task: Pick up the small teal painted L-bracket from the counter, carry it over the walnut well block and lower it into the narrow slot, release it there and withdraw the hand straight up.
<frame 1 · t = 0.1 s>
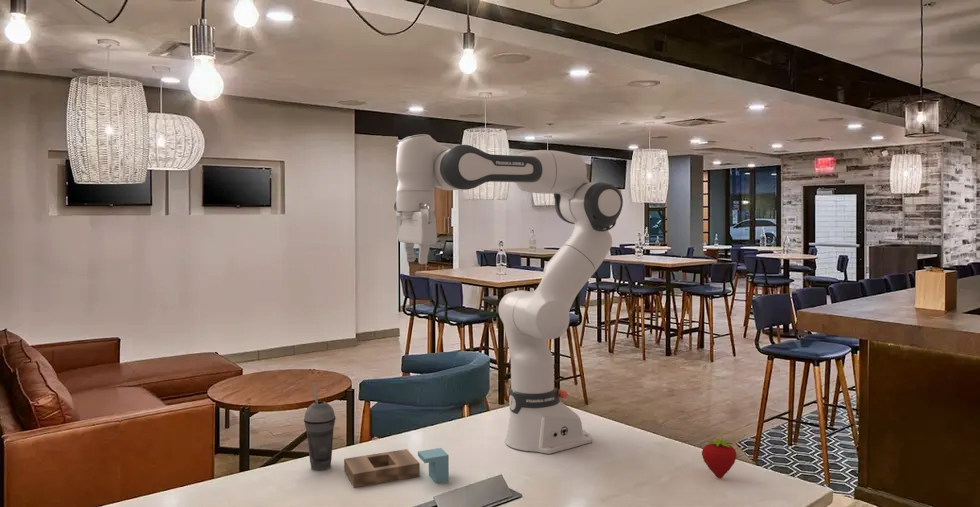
hand: (416, 262, 156), 48 cm above the table, tool pointing down, fingers open, 8 cm apart
well block: (381, 473, 151), on the table
beverage cup: (320, 467, 156), on the table
bracket: (438, 478, 148), on the table
strawberry: (718, 478, 148), on the table
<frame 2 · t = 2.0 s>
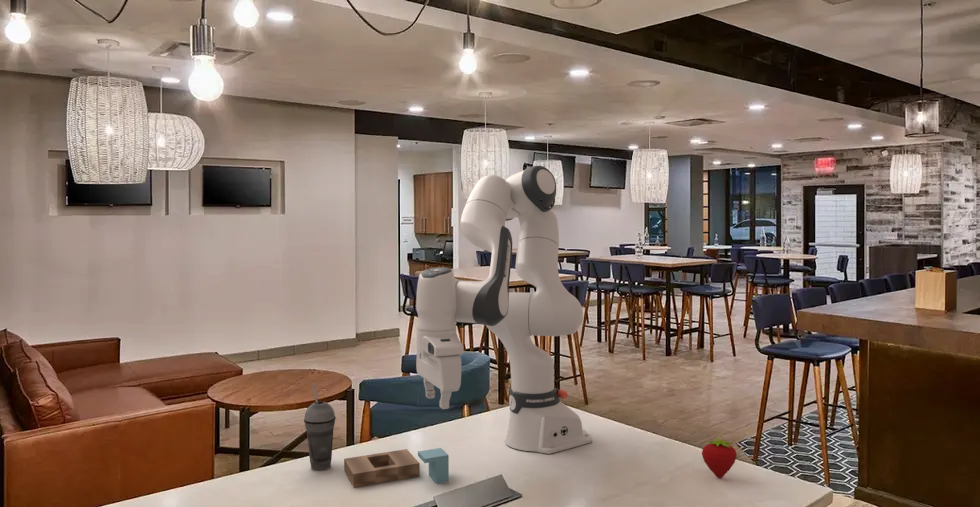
hand: (437, 402, 147), 17 cm above the table, tool pointing down, fingers open, 8 cm apart
nothing on the table moved.
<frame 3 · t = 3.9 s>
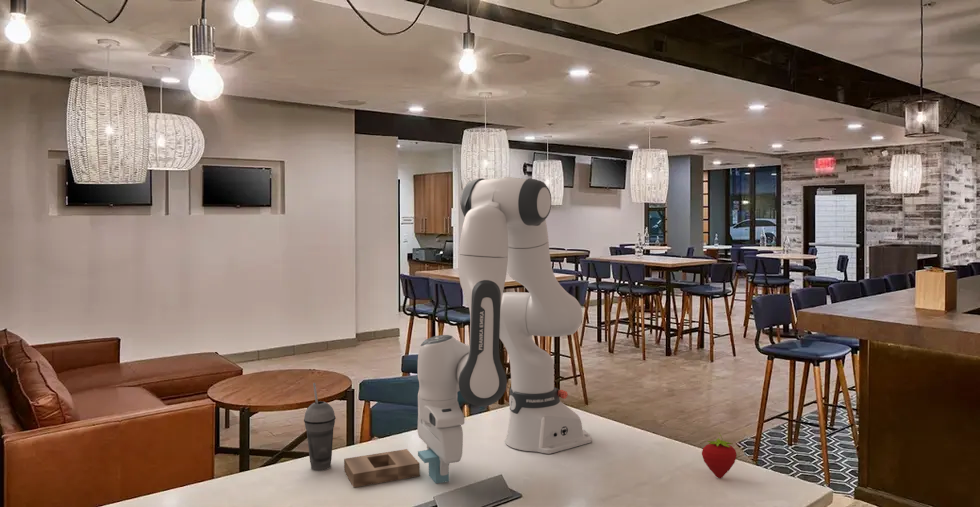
hand: (438, 469, 148), 2 cm above the table, tool pointing down, fingers closed on bracket, 5 cm apart
bracket: (438, 478, 148), on the table, touching gripper
everything else where it was.
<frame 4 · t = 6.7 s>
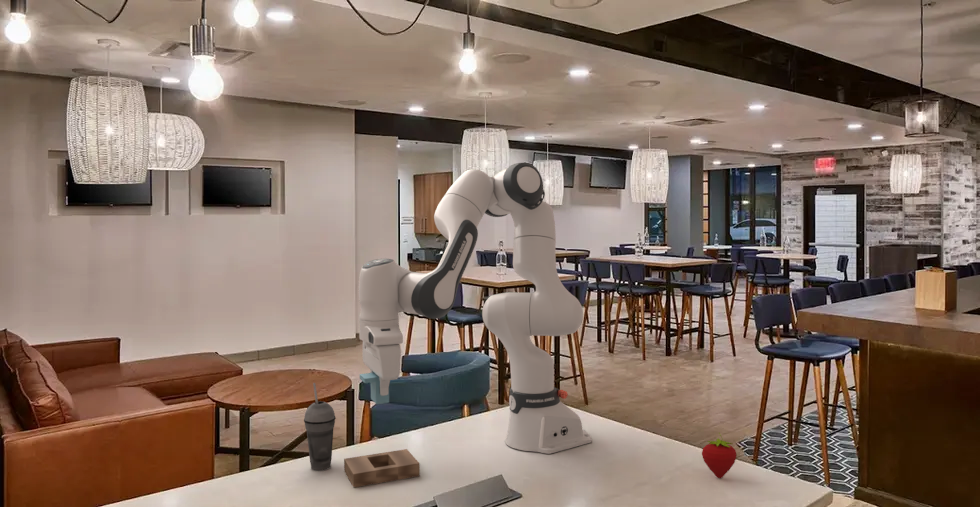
hand: (380, 391, 150), 19 cm above the table, tool pointing down, fingers closed on bracket, 5 cm apart
bracket: (380, 400, 150), point 17 cm above the table, touching gripper
everything else where it was.
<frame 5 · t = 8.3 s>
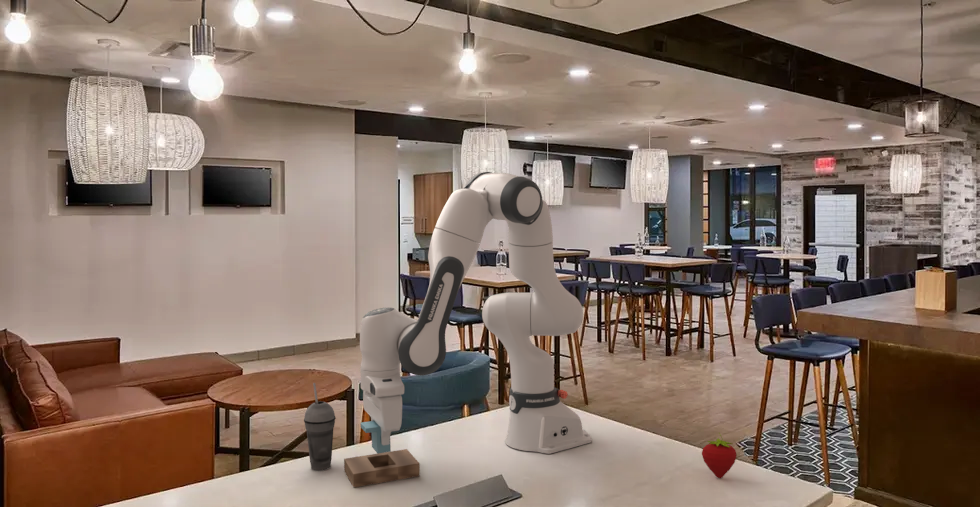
hand: (381, 439, 150), 8 cm above the table, tool pointing down, fingers closed on bracket, 5 cm apart
bracket: (381, 449, 150), point 6 cm above the table, touching gripper
everything else where it was.
when the fingers open (4 cm above the table, at t = 9.6 s): bracket drops 2 cm, resting in well block.
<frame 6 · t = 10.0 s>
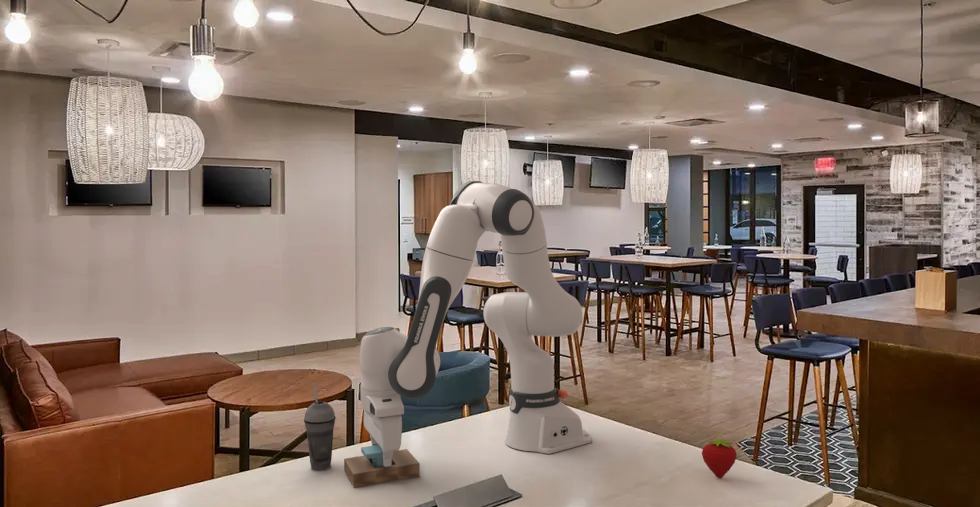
hand: (381, 458, 151), 4 cm above the table, tool pointing down, fingers open, 8 cm apart
bracket: (381, 474, 151), resting in well block
everything else where it was.
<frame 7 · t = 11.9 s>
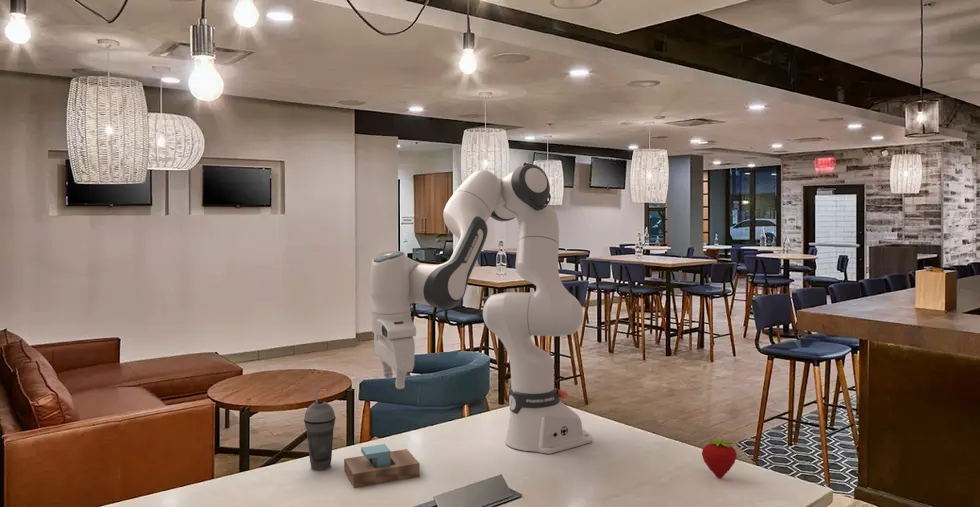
hand: (393, 382, 152), 21 cm above the table, tool pointing down, fingers open, 8 cm apart
nothing on the table moved.
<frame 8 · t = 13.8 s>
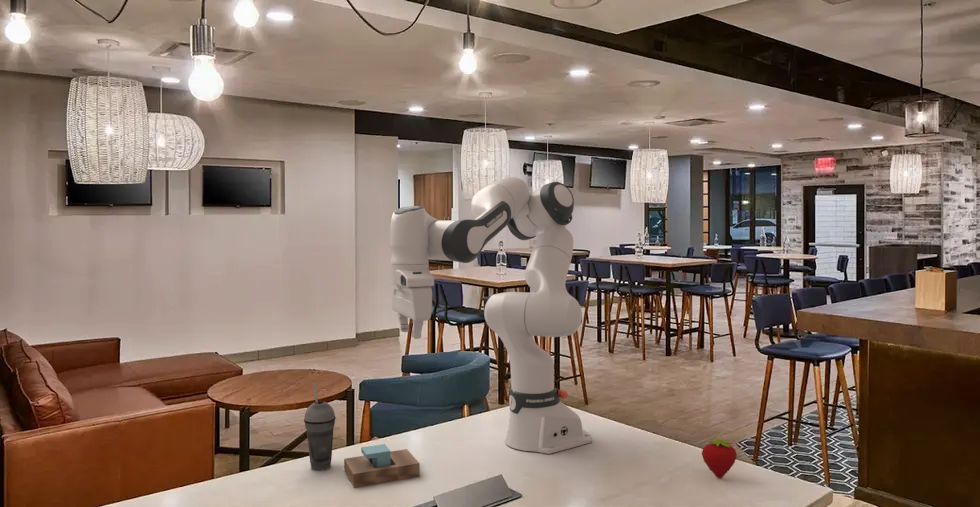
hand: (410, 334, 155), 31 cm above the table, tool pointing down, fingers open, 8 cm apart
nothing on the table moved.
at the end: bracket inside the target area on the well block (0.0 cm from its centre), point 0.0 cm above the well block's base; bracket tilted 0°; the gripper is holding nothing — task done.
